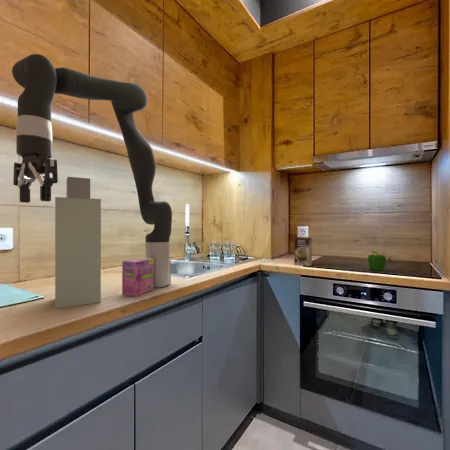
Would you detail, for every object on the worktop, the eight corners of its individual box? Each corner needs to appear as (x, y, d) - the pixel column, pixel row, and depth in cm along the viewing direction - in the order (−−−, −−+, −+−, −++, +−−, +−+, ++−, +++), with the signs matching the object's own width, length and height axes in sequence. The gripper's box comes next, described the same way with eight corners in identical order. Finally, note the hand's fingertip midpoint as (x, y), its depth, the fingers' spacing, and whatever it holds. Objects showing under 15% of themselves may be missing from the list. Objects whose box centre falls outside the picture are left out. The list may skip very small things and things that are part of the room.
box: (135, 296, 93) (135, 261, 93) (121, 295, 95) (121, 260, 95) (154, 290, 102) (154, 258, 102) (141, 288, 104) (141, 257, 104)
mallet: (65, 202, 99) (65, 185, 99) (83, 203, 102) (83, 186, 102) (67, 197, 81) (67, 176, 81) (90, 198, 84) (90, 178, 84)
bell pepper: (389, 271, 144) (390, 252, 144) (377, 271, 142) (377, 252, 142) (376, 268, 152) (376, 250, 152) (364, 269, 150) (364, 250, 150)
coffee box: (293, 264, 166) (294, 237, 166) (297, 263, 172) (297, 237, 172) (309, 266, 161) (309, 238, 161) (312, 264, 167) (312, 237, 167)
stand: (55, 298, 90) (55, 200, 90) (95, 294, 96) (95, 201, 96) (55, 308, 80) (55, 196, 79) (100, 302, 86) (100, 199, 86)
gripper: (67, 138, 71) (67, 202, 71) (33, 145, 77) (33, 203, 77) (36, 129, 64) (36, 199, 64) (1, 137, 70) (2, 201, 70)
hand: (34, 201), depth 70 cm, fingers open, 8 cm apart
